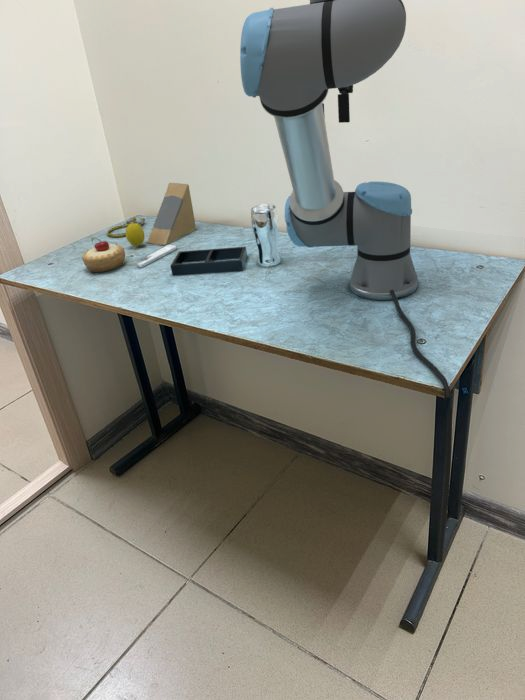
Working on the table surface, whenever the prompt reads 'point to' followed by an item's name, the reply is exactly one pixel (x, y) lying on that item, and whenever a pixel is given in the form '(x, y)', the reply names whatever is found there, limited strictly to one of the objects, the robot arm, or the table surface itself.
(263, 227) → the beer glass
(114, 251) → the pastry
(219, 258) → the black divided tray
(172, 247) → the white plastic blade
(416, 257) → the table surface
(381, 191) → the robot arm
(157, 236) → the sandwich container
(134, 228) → the lemon
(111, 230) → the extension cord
